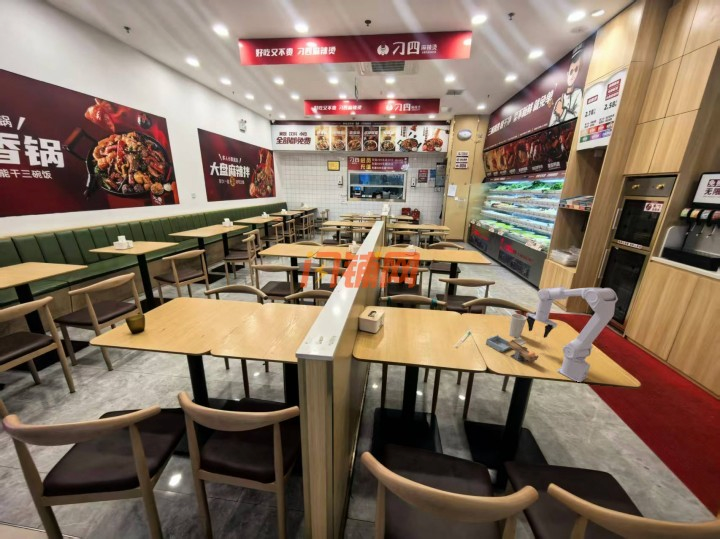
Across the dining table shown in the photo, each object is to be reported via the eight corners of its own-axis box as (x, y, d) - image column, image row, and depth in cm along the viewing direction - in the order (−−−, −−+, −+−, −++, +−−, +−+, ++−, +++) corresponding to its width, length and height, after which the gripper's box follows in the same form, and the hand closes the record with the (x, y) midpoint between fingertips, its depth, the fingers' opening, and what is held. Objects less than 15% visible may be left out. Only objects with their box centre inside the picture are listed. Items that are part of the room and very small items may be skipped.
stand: (529, 358, 143) (531, 350, 141) (521, 362, 139) (523, 354, 138) (518, 352, 148) (520, 344, 146) (510, 356, 144) (511, 348, 143)
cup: (524, 339, 161) (528, 320, 158) (509, 337, 163) (513, 318, 159) (519, 332, 169) (523, 314, 165) (505, 330, 170) (509, 312, 167)
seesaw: (544, 355, 142) (546, 352, 141) (531, 362, 136) (532, 359, 135) (519, 338, 153) (520, 335, 151) (505, 344, 147) (507, 340, 145)
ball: (534, 358, 138) (537, 354, 137) (531, 359, 137) (534, 355, 135) (529, 353, 140) (532, 349, 139) (526, 355, 139) (528, 351, 138)
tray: (511, 348, 152) (512, 342, 151) (501, 352, 147) (502, 347, 146) (496, 340, 159) (497, 334, 158) (485, 344, 155) (486, 338, 154)
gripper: (562, 314, 141) (556, 338, 145) (533, 303, 153) (528, 326, 157) (555, 317, 138) (549, 341, 142) (526, 306, 149) (520, 329, 153)
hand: (537, 333), depth 149 cm, fingers open, 7 cm apart
